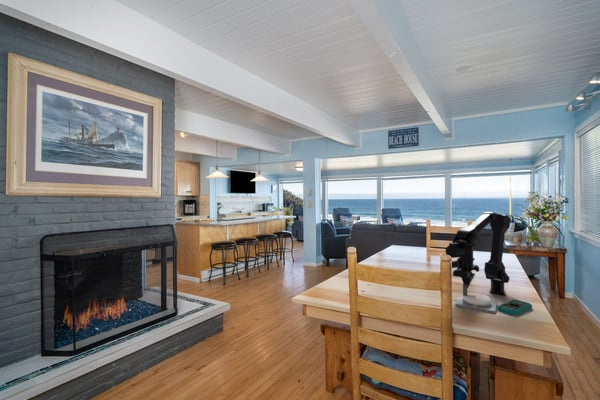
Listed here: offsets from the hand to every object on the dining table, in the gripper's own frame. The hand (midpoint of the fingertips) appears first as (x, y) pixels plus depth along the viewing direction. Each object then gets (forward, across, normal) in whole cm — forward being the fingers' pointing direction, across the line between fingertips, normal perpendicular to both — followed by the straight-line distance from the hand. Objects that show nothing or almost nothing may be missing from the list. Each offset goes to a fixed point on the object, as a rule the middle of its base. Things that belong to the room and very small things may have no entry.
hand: (466, 288), depth 139 cm
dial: (+4, +4, +5) cm, 8 cm away
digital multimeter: (+6, 0, +19) cm, 20 cm away
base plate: (+5, +4, +5) cm, 9 cm away
